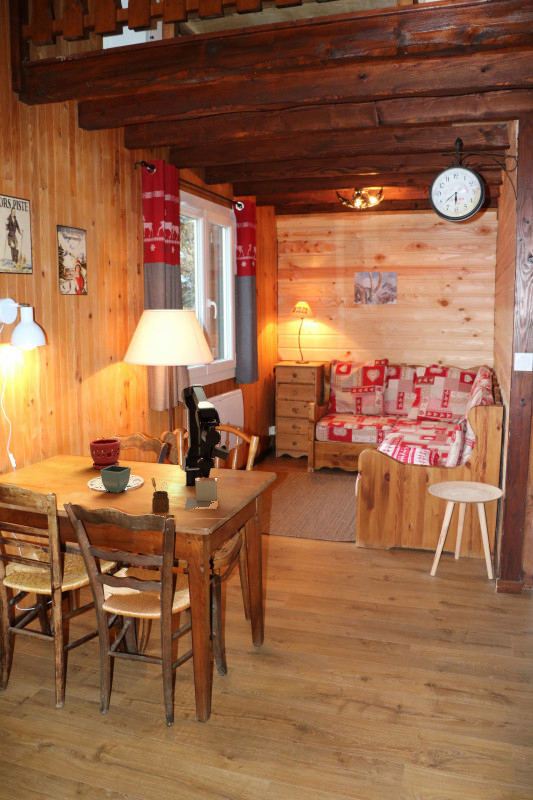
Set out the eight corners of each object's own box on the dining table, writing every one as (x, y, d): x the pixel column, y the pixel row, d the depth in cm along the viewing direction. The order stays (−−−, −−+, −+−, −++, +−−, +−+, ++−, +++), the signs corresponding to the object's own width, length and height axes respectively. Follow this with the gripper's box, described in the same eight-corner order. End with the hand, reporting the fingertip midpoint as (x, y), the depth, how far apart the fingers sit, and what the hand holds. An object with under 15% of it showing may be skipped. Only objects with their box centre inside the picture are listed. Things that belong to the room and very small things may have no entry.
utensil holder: (163, 515, 233) (162, 482, 232) (148, 512, 236) (147, 479, 234) (172, 510, 239) (172, 478, 237) (157, 508, 241) (157, 475, 240)
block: (195, 501, 249) (195, 480, 245) (196, 498, 251) (195, 477, 247) (217, 501, 249) (217, 480, 245) (217, 497, 251) (217, 477, 247)
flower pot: (131, 489, 265) (131, 467, 263) (120, 495, 257) (119, 472, 255) (112, 486, 268) (112, 465, 266) (100, 492, 259) (99, 470, 258)
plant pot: (125, 464, 303) (124, 438, 301) (112, 471, 290) (111, 445, 288) (99, 462, 306) (98, 437, 304) (85, 469, 293) (84, 443, 291)
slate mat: (184, 510, 239) (184, 509, 239) (187, 498, 253) (187, 497, 253) (218, 510, 239) (218, 509, 239) (218, 498, 253) (218, 497, 253)
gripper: (228, 445, 238) (228, 488, 240) (228, 435, 256) (228, 474, 258) (196, 445, 237) (197, 488, 239) (199, 435, 256) (199, 475, 258)
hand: (206, 481), depth 249 cm, fingers closed
